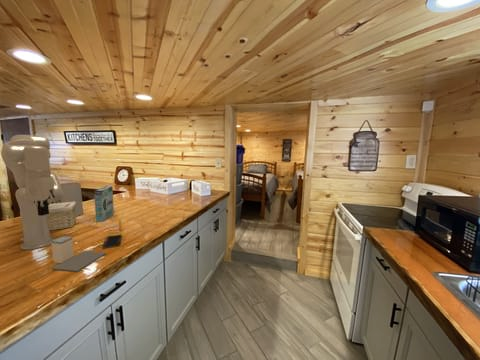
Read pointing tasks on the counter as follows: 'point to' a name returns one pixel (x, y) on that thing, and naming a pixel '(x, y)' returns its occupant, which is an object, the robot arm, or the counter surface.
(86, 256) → the mat
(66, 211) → the storage basket
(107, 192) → the teal rectangular box
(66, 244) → the block
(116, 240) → the phone
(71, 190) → the tall grey box
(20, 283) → the counter surface
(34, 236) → the robot arm
